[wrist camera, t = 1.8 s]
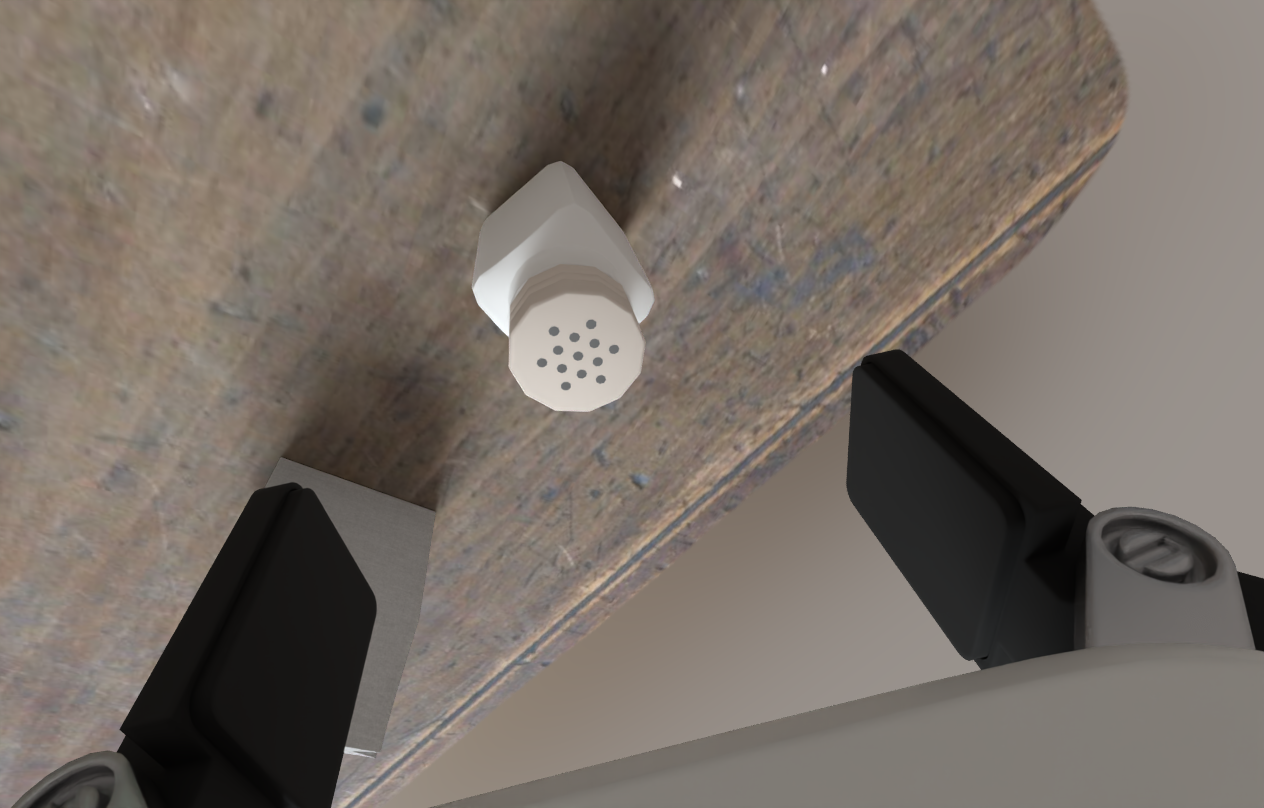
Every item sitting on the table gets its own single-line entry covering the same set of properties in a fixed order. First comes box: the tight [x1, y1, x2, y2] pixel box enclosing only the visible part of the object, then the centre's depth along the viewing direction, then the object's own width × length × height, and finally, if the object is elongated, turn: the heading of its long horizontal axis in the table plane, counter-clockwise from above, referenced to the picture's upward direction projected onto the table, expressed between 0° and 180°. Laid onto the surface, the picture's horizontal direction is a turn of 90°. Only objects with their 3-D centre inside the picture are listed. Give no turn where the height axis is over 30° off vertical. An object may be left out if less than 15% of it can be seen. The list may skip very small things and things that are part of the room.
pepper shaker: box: [472, 161, 655, 412], centre depth 18 cm, size 4×4×10 cm
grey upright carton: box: [265, 457, 436, 758], centre depth 23 cm, size 4×7×10 cm, turn 55°
